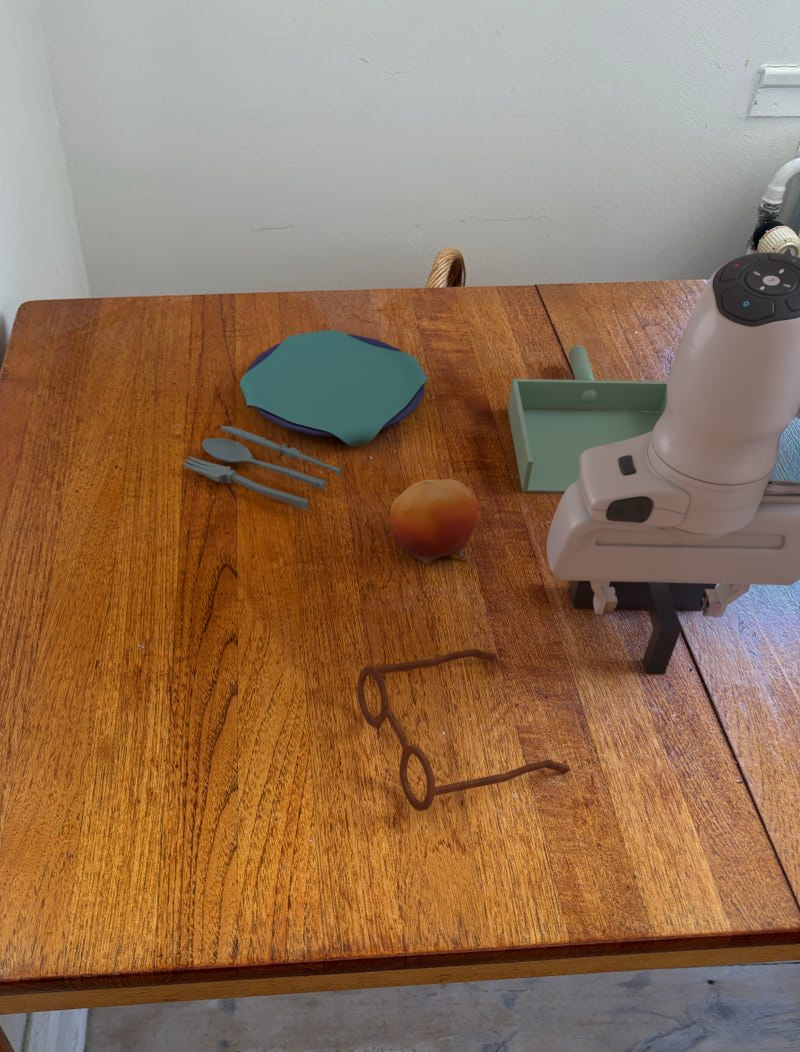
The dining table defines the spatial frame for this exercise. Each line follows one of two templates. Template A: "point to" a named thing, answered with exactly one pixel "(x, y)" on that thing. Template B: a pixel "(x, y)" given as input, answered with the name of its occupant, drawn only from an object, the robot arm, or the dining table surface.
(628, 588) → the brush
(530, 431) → the dustpan
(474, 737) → the dining table surface
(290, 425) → the cutlery set
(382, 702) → the glasses
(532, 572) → the dining table surface
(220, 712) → the dining table surface
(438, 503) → the fruit
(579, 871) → the dining table surface
